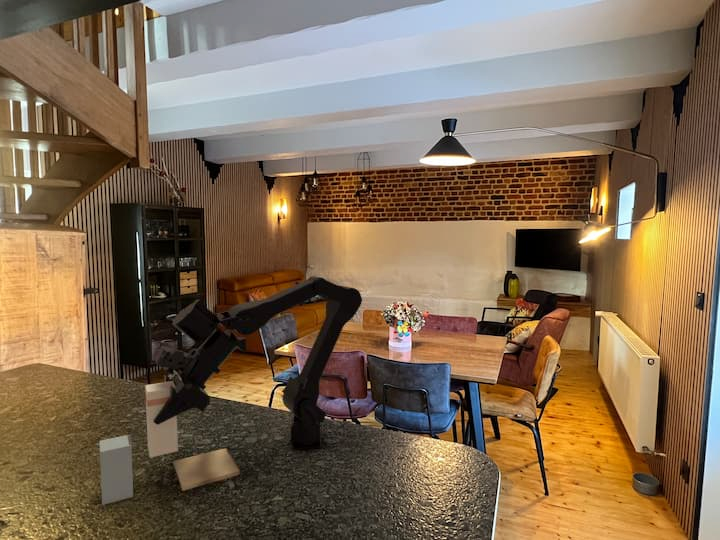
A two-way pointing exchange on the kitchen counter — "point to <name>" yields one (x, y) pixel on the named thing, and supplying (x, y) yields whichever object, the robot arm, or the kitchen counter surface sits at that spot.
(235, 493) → the kitchen counter surface
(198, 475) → the coaster
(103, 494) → the ticket block
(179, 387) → the robot arm
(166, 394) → the beige upright block
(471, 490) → the kitchen counter surface
